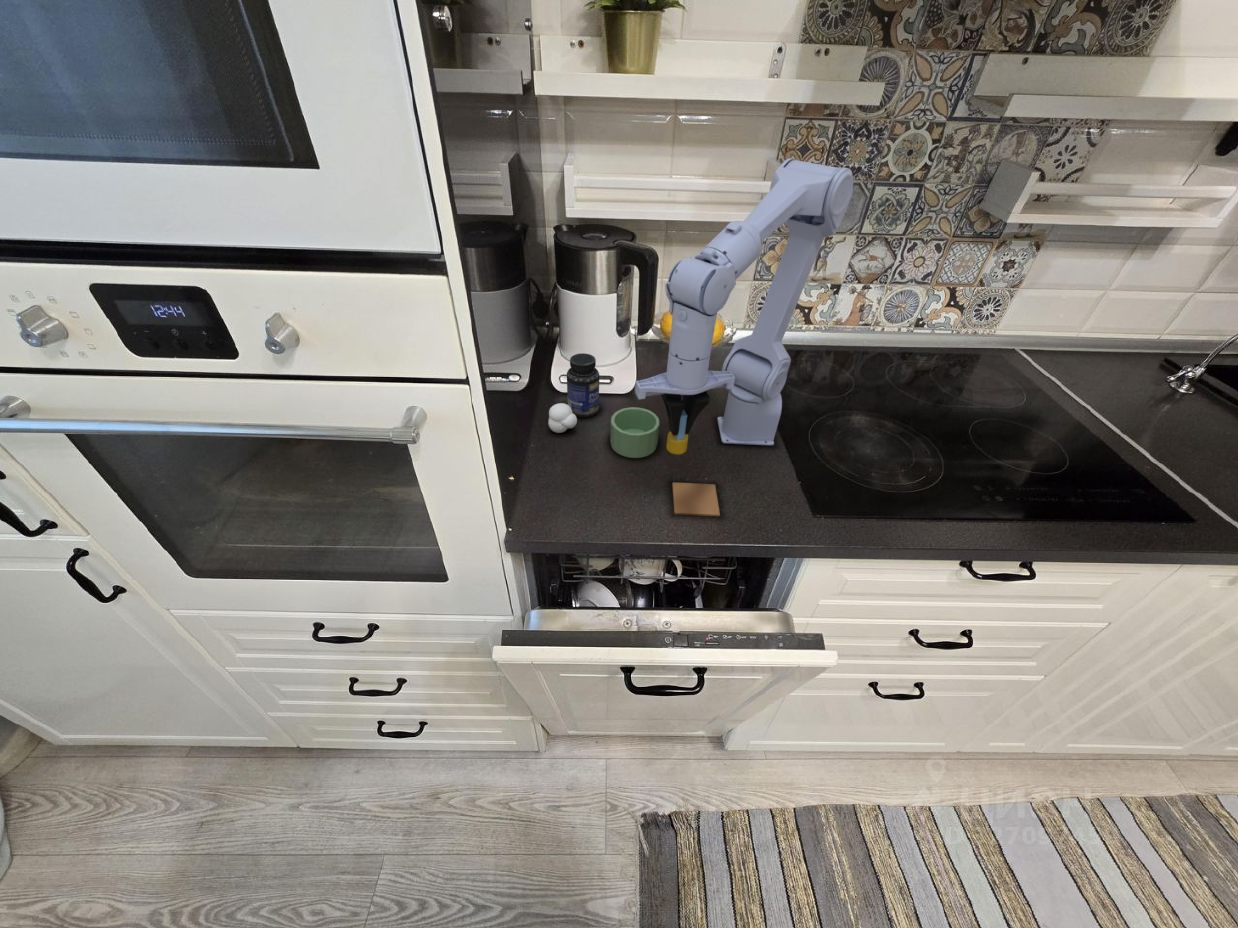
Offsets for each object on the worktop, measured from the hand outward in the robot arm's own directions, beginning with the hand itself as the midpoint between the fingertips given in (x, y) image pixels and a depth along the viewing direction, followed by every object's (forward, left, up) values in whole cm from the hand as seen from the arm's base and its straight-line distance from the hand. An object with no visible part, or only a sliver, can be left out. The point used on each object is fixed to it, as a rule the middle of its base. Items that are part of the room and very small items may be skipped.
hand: (679, 431), depth 79 cm
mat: (-3, +5, -10) cm, 11 cm away
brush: (0, 0, -3) cm, 3 cm away
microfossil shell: (+20, -12, -10) cm, 25 cm away
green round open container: (+7, -9, -10) cm, 15 cm away
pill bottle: (+17, -19, -10) cm, 27 cm away
